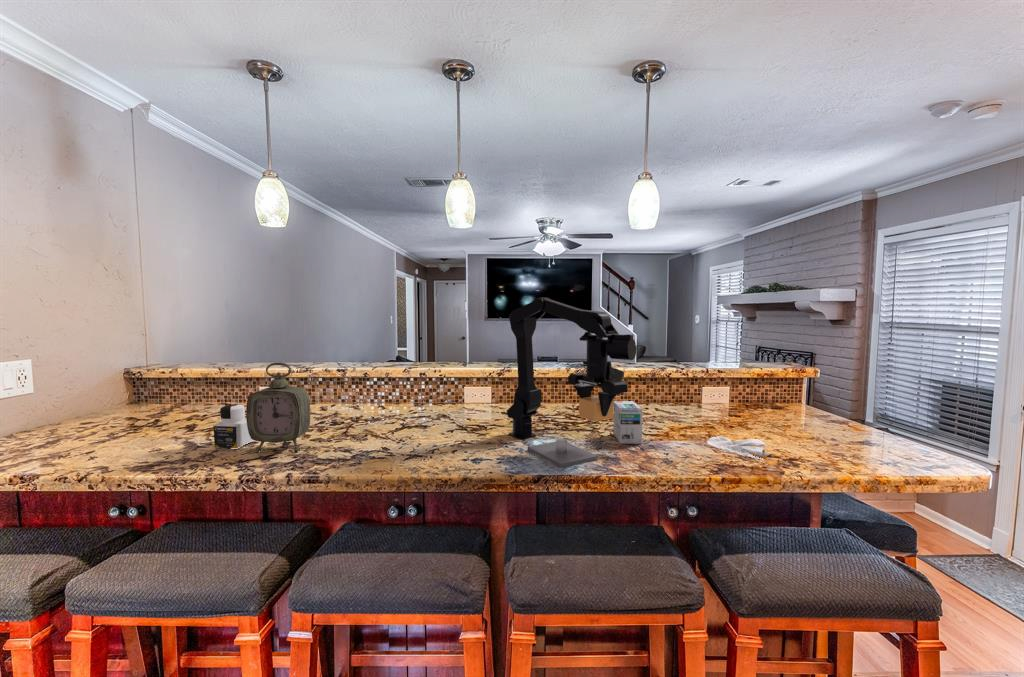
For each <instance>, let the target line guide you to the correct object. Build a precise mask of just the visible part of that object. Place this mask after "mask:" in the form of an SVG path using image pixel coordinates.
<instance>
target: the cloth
mask: <svg viewBox="0 0 1024 677" xmlns="http://www.w3.org/2000/svg"><path fill="white" fill-rule="evenodd" d="M706 444H708V445H710V446H711V447H714V448H716V449H719V450H721V451H723V450H724V452H727V453H730V454H733V453H735V454H734V455H737V454H738V455H737V456H741V455H742V456H741V457H745V456H747V457H746V458H749V457H751V458H750V459H753V458H755V459H754V460H757V459H760V460H759V461H762V460H763V459H764V458H762V457H763V455H764V457H768V456H769V458H774V456H773V454H772V453H771V452H766V451H765V448H764V447H767V446H768V445H767V444H766V443H765V442H764V441H762V440H761V439H758V438H747V439H737V440H734V441H733V440H731V439H729V438H728V437H725V436H722V435H719V436H711V437H710V438H709V439H708V440H707V441H706ZM749 453H750V454H749ZM746 454H748V455H746ZM753 454H754V456H753ZM757 455H759V456H757ZM755 456H756V457H755ZM759 457H760V458H759ZM761 458H762V459H761ZM763 461H764V460H763Z"/></svg>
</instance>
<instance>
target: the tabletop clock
mask: <svg viewBox="0 0 1024 677" xmlns="http://www.w3.org/2000/svg"><path fill="white" fill-rule="evenodd" d="M272 366H284V367H286V368H287V369H289V371H288V373H285V374H282V373H281V372H280V371H278V372H277V373H276V374H273V373H270V372H269V371H268V370H269V368H270V367H272ZM265 373H266V374H267V375H268V376H269V377H271V378H274V379H272V380H271V381H270V382H269V384H268V387H266V388H263V389H260V390H258V391H255V392H252V393H250V394H249V395H248V398H247V400H246V405H245V406H246V411H245V419H246V420H247V428H248V432H249V435H250V437H251V439H253V441H256V442H260V443H259V446H256V447H255V448H254V451H255V452H256V453H257V452H259V451H260V452H262V449H263V448H262V446H263V445H264V443H282V444H281V445H282V447H283V446H287V447H288V446H289V442H290V441H292V442H293V444H294V448H293V451H294V452H295V451H299V452H300V451H301V447H300V445H298V443H297V439H298V438H299V437H301V436H302V435H304V434H305V433H307V432H308V431H309V428H310V424H311V414H312V413H311V412H312V410H311V402H310V396H309V393H308V391H307V389H306V388H304V387H301V386H295V385H294V386H292V385H290V384H289V382H288V380H287V379H285V377H288V376H289V375H290V374H291V373H292V368H291V367H290V365H289V364H287V363H285V362H272V363H270V364H268V365H267V366H266V368H265ZM260 452H259V453H260Z"/></svg>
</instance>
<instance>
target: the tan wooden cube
mask: <svg viewBox="0 0 1024 677" xmlns="http://www.w3.org/2000/svg"><path fill="white" fill-rule="evenodd" d="M578 401H579V404H578V405H579V408H578V411H579V412H578V413H579V414H578V416H579V417H581V418H584V419H587V420H590V421H593V422H597V421H598V422H600V421H605V420H611V419H614V401H615V400H614V399H613V400H612V403H611V405H610V408H609V410H608V413H607V416H602V412H601V407H600V402H599V396H598V395H594V396H591V397H586V398H580V397H579V400H578Z"/></svg>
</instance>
